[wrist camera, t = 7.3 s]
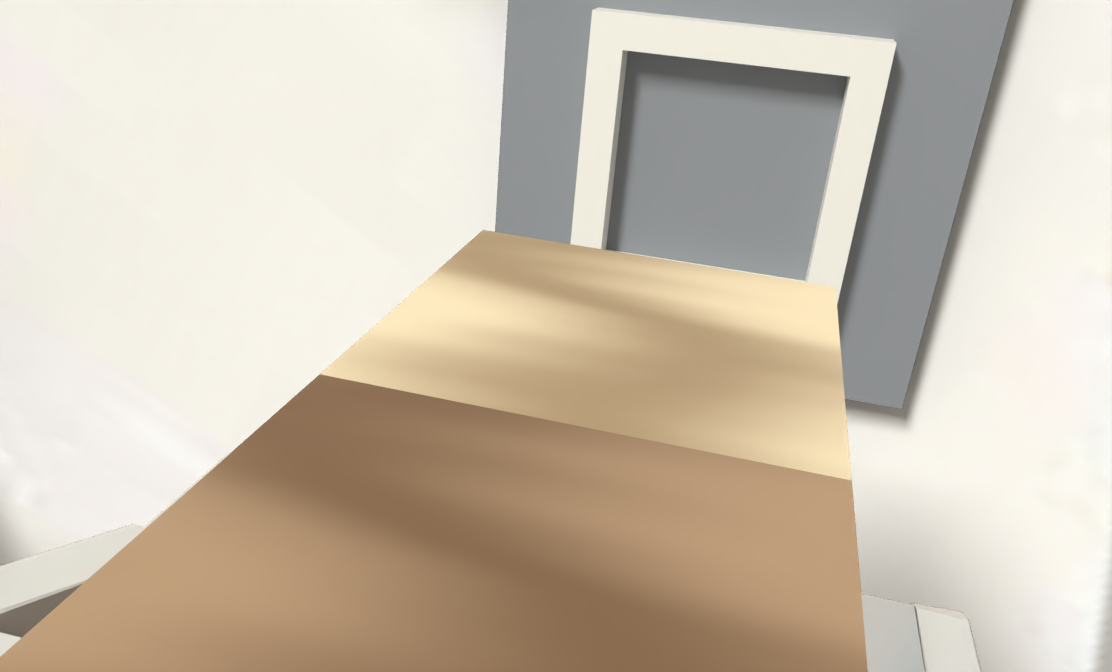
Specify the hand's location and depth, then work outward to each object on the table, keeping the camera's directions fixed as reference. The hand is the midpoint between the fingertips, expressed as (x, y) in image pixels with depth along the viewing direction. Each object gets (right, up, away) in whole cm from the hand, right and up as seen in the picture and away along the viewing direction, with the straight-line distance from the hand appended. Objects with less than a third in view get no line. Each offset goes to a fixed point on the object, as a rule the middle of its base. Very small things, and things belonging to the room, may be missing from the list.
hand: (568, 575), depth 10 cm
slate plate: (+5, +8, +19) cm, 21 cm away
